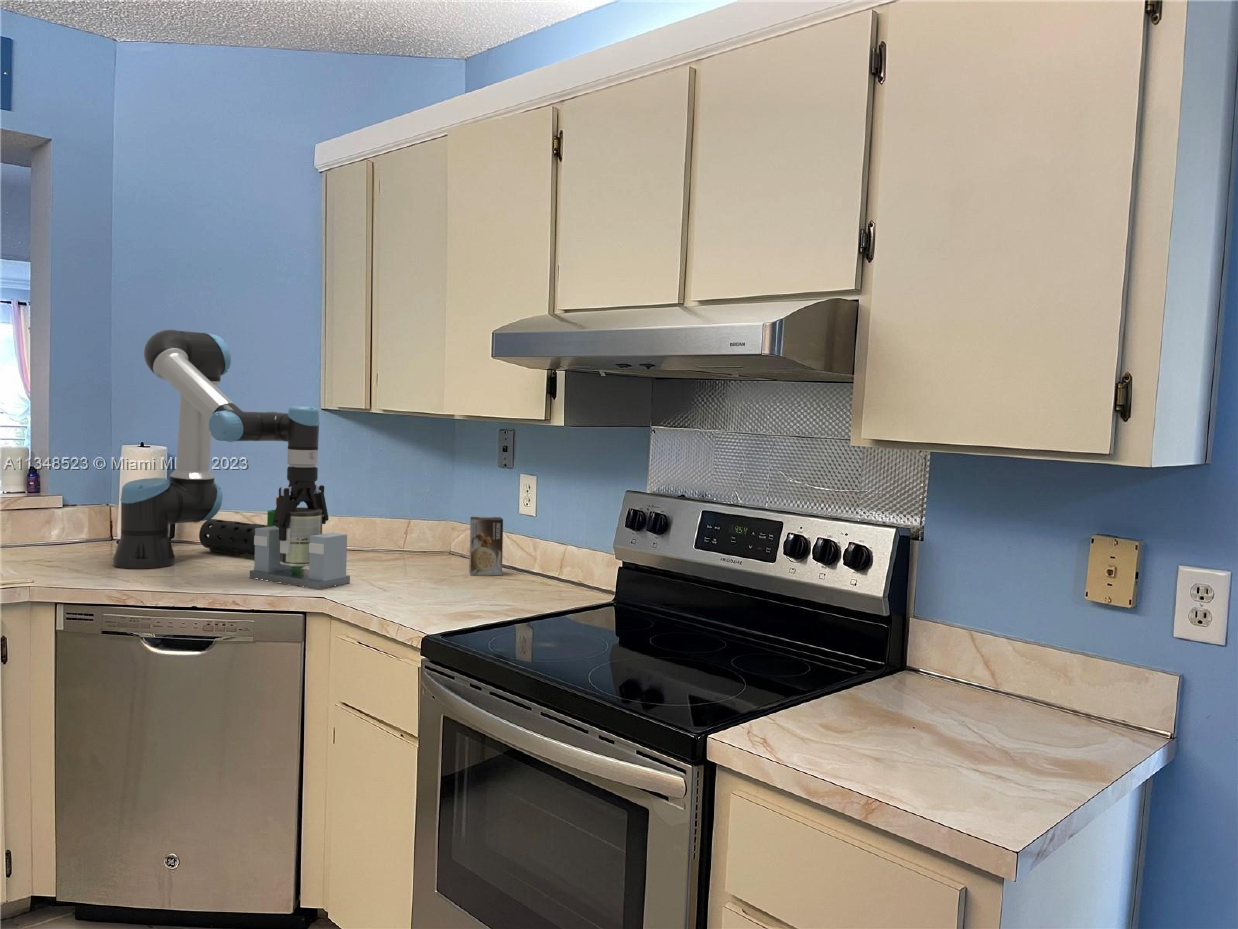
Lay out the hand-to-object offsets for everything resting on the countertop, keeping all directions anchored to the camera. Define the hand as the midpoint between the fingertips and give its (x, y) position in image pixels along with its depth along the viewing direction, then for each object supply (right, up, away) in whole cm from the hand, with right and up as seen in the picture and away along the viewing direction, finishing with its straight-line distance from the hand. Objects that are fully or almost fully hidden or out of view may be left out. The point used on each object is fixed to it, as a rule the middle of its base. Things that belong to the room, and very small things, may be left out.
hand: (300, 550), depth 244 cm
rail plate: (0, -8, 0) cm, 8 cm away
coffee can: (0, -3, 0) cm, 3 cm away
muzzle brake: (-28, -5, +34) cm, 44 cm away
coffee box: (+45, -9, +23) cm, 51 cm away
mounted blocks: (0, -6, 0) cm, 6 cm away
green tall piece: (-11, -6, +20) cm, 23 cm away
